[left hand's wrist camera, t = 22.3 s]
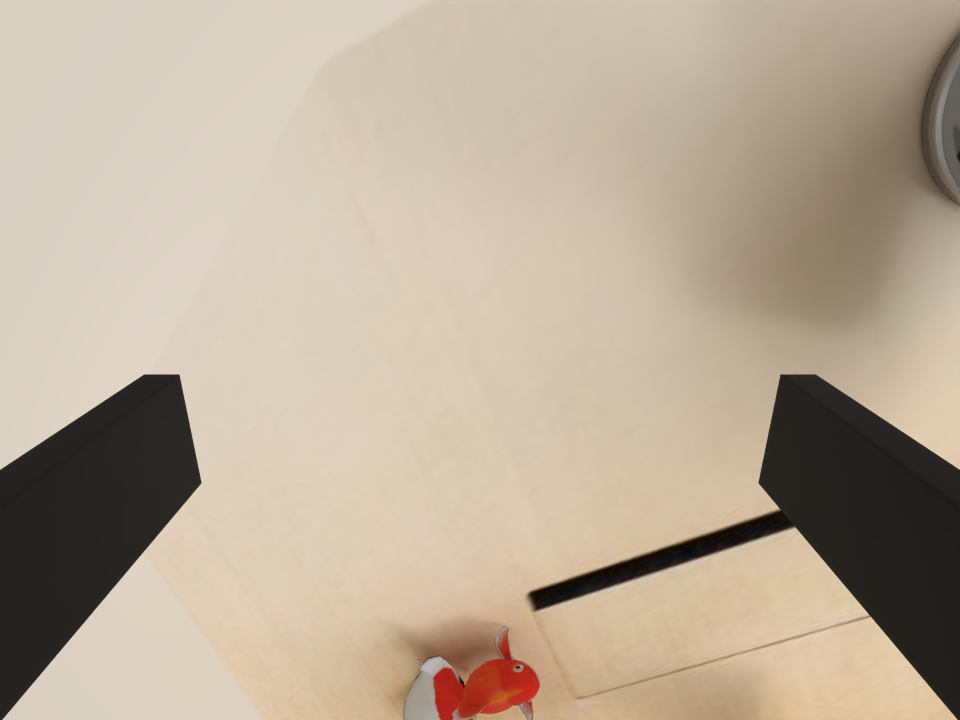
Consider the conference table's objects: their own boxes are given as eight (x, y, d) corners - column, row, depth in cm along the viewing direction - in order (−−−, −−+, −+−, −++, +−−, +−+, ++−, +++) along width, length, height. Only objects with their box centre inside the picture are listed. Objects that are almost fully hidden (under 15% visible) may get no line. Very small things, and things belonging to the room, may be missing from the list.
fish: (571, 734, 54) (528, 818, 45) (438, 703, 62) (380, 770, 53) (554, 625, 53) (508, 690, 45) (423, 608, 61) (362, 660, 53)
